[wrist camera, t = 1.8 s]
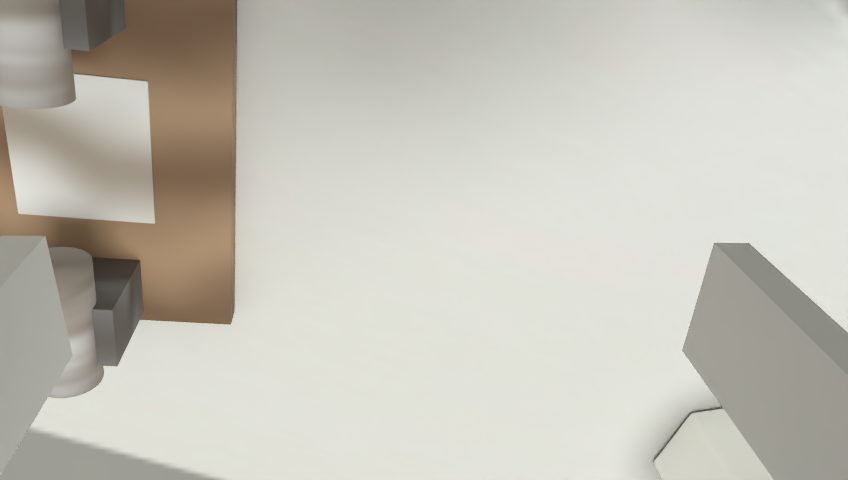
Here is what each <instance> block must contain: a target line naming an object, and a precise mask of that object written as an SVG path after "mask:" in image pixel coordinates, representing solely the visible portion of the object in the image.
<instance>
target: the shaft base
mask: <svg viewBox="0 0 848 480" xmlns="http://www.w3.org/2000/svg"><path fill="white" fill-rule="evenodd" d="M236 49H237V0H0V237H1V236H46V241H47V245H48V249H49V254H50V258H51V262H52V267H53V271H54V276H55V280H56V284H57V289H58V293H59V297H60V302H61V306H62V311H63V315H64V319H65V324H66V328H67V332H68V337H69V341H70V346H71V350H72V354H73V356H72V357H71V359H70V361H69V362H68V364H67V366H66V367H65V369H64V371H63V372H62V374H61V376H60V377H59V379H58V381H57V382H56V384H55V386H54V387H53V389H52V391H51V392H50V394H49V396H48V397H52V398H69V397H74V396H78V395H81V394H84V393H86V392H88V391H90V390H92V389H93V388H94V387H96V386H97V385H98V384H99V383H100V382H101V380H102V378H103V375H104V370H103V366H118V364H119V362H120V359H121V357H122V355H123V353H124V351H125V349H126V347H127V345H128V343H129V341H130V339H131V337H132V335H133V333H134V330H135V328H136V326H137V324H138V322H139V320H156V321H176V322H195V323H214V324H231V322H232V318H233V314H234V279H235V164H236Z"/></svg>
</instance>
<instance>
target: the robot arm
mask: <svg viewBox="0 0 848 480" xmlns="http://www.w3.org/2000/svg"><path fill="white" fill-rule="evenodd" d="M682 351H683V352H684V353H685V355H686V356H687V358H688V359H689V361H690V362H691V363H692V365H693V366H694V368H695V369H696V370H697V372H698V373H699V375H700V376H701V378H702V379H703V380H704V382H705V383H706V385H707V386H708V387H709V389H710V390H711V392H712V393H713V395H714V396H715V397H716V399H717V400H718V402H719V403H720V404H721V406H722V407H723V409H724V410H725V412H726V413H727V414H728V416H729V417H730V419H731V420H732V421H733V423H734V424H735V426H736V427H737V429H738V430H739V431H740V433H741V434H742V436H743V437H744V439H745V440H746V441H747V443H748V444H749V446H750V447H751V448H752V450H753V451H754V453H755V454H756V456H757V457H758V458H759V460H760V461H761V463H762V464H763V465H764V467H765V468H766V470H767V471H768V473H769V474H770V475H771V477H772V478H773V480H848V333H847V332H846V331H845V330H844V329H843V328H842V327H841V326H840V325H839V324H837V323H836V322H835V321H834V320H833V319H832V318H831V317H830V316H829V315H827V314H826V313H825V312H824V311H823V310H822V309H821V308H820V307H819V306H818V305H816V304H815V303H814V302H813V301H812V300H811V299H810V298H809V297H808V296H807V295H805V294H804V293H803V292H802V291H801V290H800V289H799V288H798V287H797V286H795V285H794V284H793V283H792V282H791V281H790V280H789V279H788V278H787V277H786V276H784V275H783V274H782V273H781V272H780V271H779V270H778V269H777V268H776V267H775V266H773V265H772V264H771V263H770V262H769V261H768V260H767V259H766V258H765V257H763V256H762V255H761V254H760V253H759V252H758V251H757V250H756V249H755V248H754V247H752V246H751V245H750V244H749V243H714V245H713V249H712V252H711V255H710V259H709V262H708V266H707V269H706V272H705V276H704V279H703V282H702V286H701V289H700V293H699V296H698V299H697V303H696V306H695V309H694V313H693V316H692V320H691V323H690V326H689V330H688V333H687V336H686V340H685V343H684V347H683V350H682ZM72 356H73V354H72V350H71V346H70V341H69V337H68V332H67V328H66V324H65V319H64V315H63V311H62V306H61V302H60V297H59V293H58V289H57V284H56V280H55V276H54V271H53V267H52V262H51V258H50V254H49V249H48V245H47V241H46V236H1V237H0V476H1V474H2V472H3V470H4V469H5V467H6V466H7V463H8V462H9V461H10V459H11V457H12V456H13V454H14V452H15V451H16V449H17V447H18V446H19V444H20V442H21V441H22V439H23V437H24V435H25V434H26V432H27V431H28V429H29V427H30V426H31V424H32V422H33V421H34V419H35V417H36V416H37V414H38V412H39V411H40V409H41V407H42V406H43V404H44V402H45V401H46V399H47V397H48V396H49V394H50V392H51V391H52V389H53V387H54V386H55V384H56V382H57V381H58V379H59V377H60V376H61V374H62V372H63V371H64V369H65V367H66V366H67V364H68V362H69V361H70V359H71V357H72Z"/></svg>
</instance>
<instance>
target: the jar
mask: <svg viewBox="0 0 848 480" xmlns="http://www.w3.org/2000/svg"><path fill="white" fill-rule="evenodd" d="M654 465H655V467H656V469H657V471H658V472H659V474H660V476H661V478H662V480H773V478H772V477H771V475H770V474H769V473H768V471H767V470H766V468H765V467H764V465H763V464H762V463H761V461H760V460H759V458H758V457H757V456H756V454H755V453H754V451H753V450H752V448H751V447H750V446H749V444H748V443H747V441H746V440H745V439H744V437H743V436H742V434H741V433H740V431H739V430H738V429H737V427H736V426H735V424H734V423H733V421H732V420H731V419H730V417H729V416H728V414H727V413H726V412H725V410H724V409H723V408H722V409H715V410H708V411H702V412H695V413H691V414H690V415H689V417H688V418H687V419H686V421H685V422H684V423H683V425H682V426H681V427H680V428H679V430H678V431H677V432H676V434H675V435H674V436H673V437H672V439H671V440H670V441H669V443H668V444H667V445H666V447H665V448H664V449H663V450H662V452H661V453H660V454H659V456H658V457H657V458H656V459H655V461H654Z"/></svg>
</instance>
